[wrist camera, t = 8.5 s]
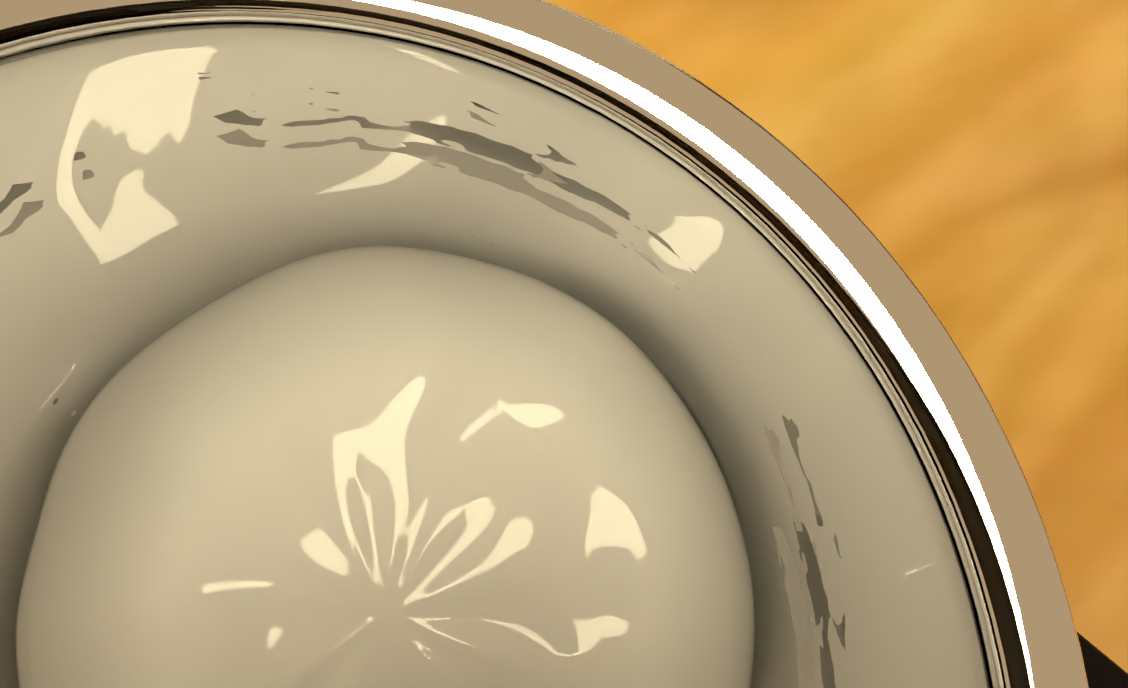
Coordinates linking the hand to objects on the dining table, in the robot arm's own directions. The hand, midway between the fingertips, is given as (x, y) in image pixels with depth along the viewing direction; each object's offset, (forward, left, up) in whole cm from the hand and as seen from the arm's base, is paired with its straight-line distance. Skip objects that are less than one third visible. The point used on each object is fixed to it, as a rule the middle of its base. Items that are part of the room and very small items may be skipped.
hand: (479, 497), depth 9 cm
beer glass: (-1, +1, -9) cm, 9 cm away
